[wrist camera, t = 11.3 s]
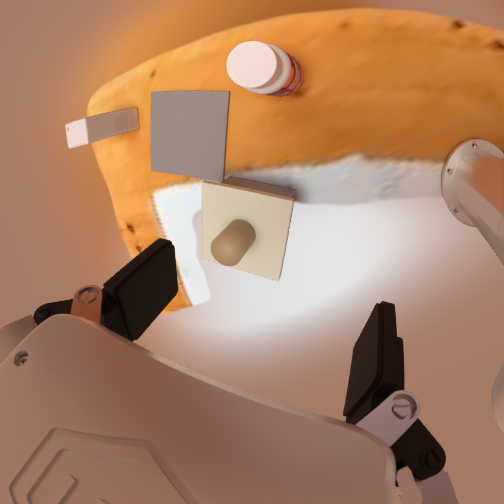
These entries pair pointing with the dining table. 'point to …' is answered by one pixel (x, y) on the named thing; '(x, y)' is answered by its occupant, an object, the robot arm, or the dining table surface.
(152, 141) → the mat
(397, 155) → the dining table surface
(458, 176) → the robot arm
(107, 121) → the skincare box
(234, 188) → the lid
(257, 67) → the pill bottle
